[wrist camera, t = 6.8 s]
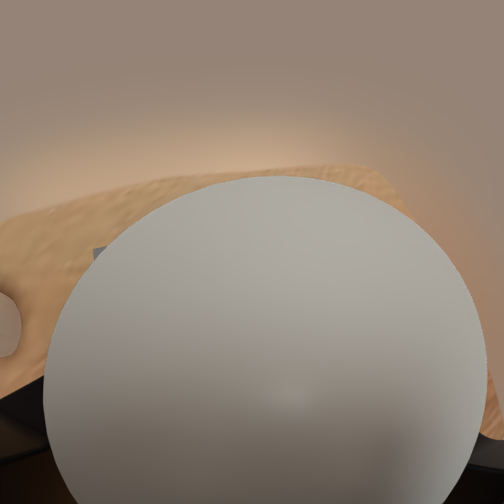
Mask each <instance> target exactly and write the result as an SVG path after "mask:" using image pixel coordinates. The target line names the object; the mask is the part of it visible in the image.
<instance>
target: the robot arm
mask: <svg viewBox="0 0 504 504" xmlns="http://www.w3.org/2000/svg"><path fill="white" fill-rule="evenodd" d="M43 388H44V375H43V376H42V377H40V378H38V379H36V380H35V381H33V382H31V383H29V384H28V385H26V386H24V387H22V388H20V389H18V390H16V391H15V392H13V393H11V394H9V395H7V396H5V397H3V398H2V399H0V504H78V503H77V501H76V500H75V499H74V497H73V496H72V494H71V492H70V491H69V489H68V487H67V485H66V483H65V481H64V479H63V477H62V475H61V473H60V471H59V469H58V467H57V464H56V462H55V459H54V456H53V452H52V449H51V446H50V442H49V439H48V435H47V430H46V423H45V415H44V406H43ZM442 504H504V440H494V439H491V438H488V437H486V436H484V435H482V434H481V433H480V432H479V434H478V437H477V440H476V443H475V445H474V448H473V451H472V453H471V456H470V458H469V460H468V462H467V464H466V466H465V468H464V470H463V472H462V474H461V476H460V478H459V480H458V481H457V483H456V485H455V486H454V488H453V489H452V491H451V492H450V494H449V495H448V497H447V498H446V500H445V501H444V502H443V503H442Z"/></svg>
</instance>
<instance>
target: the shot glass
mask: <svg viewBox="0 0 504 504" xmlns="http://www.w3.org/2000/svg"><path fill="white" fill-rule="evenodd" d="M21 326H22V323H21V318H20V313H19V310H18V308H17V306H16V304H15V302H14V301H13V300H12V299H10V298H9V297H8V296H7V295H5V294H3V293H1V292H0V357H6V356H9V355H12V354H13V352H14V351H15V350H16V349H17V347H18V345H19V341H20V338H21Z"/></svg>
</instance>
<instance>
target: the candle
mask: <svg viewBox="0 0 504 504" xmlns="http://www.w3.org/2000/svg"><path fill="white" fill-rule="evenodd" d="M486 392H487V359H486V349H485V341H484V337H483V332H482V328H481V323H480V319H479V316H478V313H477V311H476V308H475V305H474V303H473V300H472V297H471V295H470V293H469V291H468V289H467V287H466V285H465V283H464V281H463V279H462V277H461V275H460V274H459V272H458V271H457V269H456V268H455V267H454V265H453V263H452V262H451V261H450V259H449V258H448V256H447V255H446V253H445V252H444V251H443V250H442V249H441V248H440V247H439V246H438V244H437V243H436V242H435V241H434V240H433V239H432V238H431V237H430V236H429V235H428V234H427V233H426V232H425V231H424V230H423V229H422V228H420V227H419V226H418V225H417V224H416V223H415V222H413V221H412V220H411V219H410V218H408V217H407V216H405V215H404V214H402V213H401V212H399V211H398V210H396V209H395V208H393V207H392V206H390V205H389V204H387V203H385V202H383V201H381V200H379V199H377V198H375V197H373V196H371V195H369V194H367V193H364V192H362V191H359V190H356V189H353V188H350V187H347V186H344V185H341V184H338V183H333V182H328V181H323V180H318V179H313V178H306V177H292V176H265V177H251V178H243V179H238V180H233V181H228V182H223V183H219V184H214V185H211V186H208V187H205V188H203V189H200V190H197V191H194V192H191V193H188V194H185V195H183V196H181V197H179V198H177V199H175V200H173V201H171V202H169V203H167V204H165V205H163V206H161V207H159V208H157V209H155V210H153V211H152V212H150V213H149V214H147V215H146V216H144V217H143V218H142V219H140V220H139V221H137V222H136V223H134V224H133V225H132V226H130V227H129V228H127V229H126V230H125V231H124V232H122V233H121V234H120V235H119V236H118V237H117V238H116V239H115V240H114V241H113V242H112V243H111V244H109V245H108V246H107V247H106V248H105V249H104V250H103V251H102V252H101V253H100V254H99V255H98V257H97V258H96V259H95V260H94V262H93V263H92V264H91V265H90V267H89V268H88V269H87V270H86V272H85V273H84V274H83V275H82V277H81V278H80V279H79V281H78V282H77V284H76V286H75V288H74V289H73V291H72V293H71V294H70V296H69V298H68V300H67V302H66V303H65V305H64V307H63V309H62V311H61V314H60V316H59V319H58V321H57V324H56V327H55V329H54V332H53V335H52V338H51V341H50V345H49V350H48V355H47V360H46V365H45V371H44V388H43V406H44V415H45V423H46V430H47V435H48V439H49V442H50V446H51V449H52V452H53V456H54V459H55V462H56V464H57V467H58V469H59V471H60V473H61V475H62V477H63V479H64V481H65V483H66V485H67V487H68V489H69V491H70V492H71V494H72V496H73V497H74V499H75V500H76V501H77V503H78V504H442V503H443V502H444V501H445V500H446V498H447V497H448V495H449V494H450V492H451V491H452V489H453V488H454V486H455V485H456V483H457V481H458V480H459V478H460V476H461V474H462V472H463V470H464V468H465V466H466V464H467V462H468V460H469V458H470V456H471V453H472V451H473V448H474V445H475V443H476V440H477V437H478V434H479V430H480V426H481V422H482V418H483V414H484V408H485V400H486Z"/></svg>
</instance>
